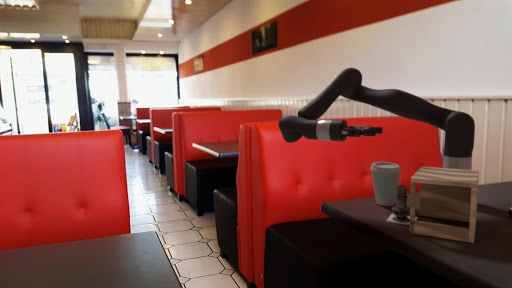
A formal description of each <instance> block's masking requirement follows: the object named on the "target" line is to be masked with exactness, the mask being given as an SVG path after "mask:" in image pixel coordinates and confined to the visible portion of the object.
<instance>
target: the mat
mask: <svg viewBox="0 0 512 288" xmlns="http://www.w3.org/2000/svg"><path fill="white" fill-rule="evenodd" d="M393 217H395V215H394V213H391V214H390V215H389V217H388V218H387V219H386V223H393V224H398V225H400V224H401V225H406V226H410V221H409V222H397V221H394V220H393V219H392V218H393ZM418 217H419V216H415V220H416V221H418ZM407 218H409V219H410V215H409V216H407Z"/></svg>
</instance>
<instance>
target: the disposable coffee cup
mask: <svg viewBox="0 0 512 288" xmlns="http://www.w3.org/2000/svg"><path fill="white" fill-rule="evenodd" d="M370 171H371V176H372V183H373V184H372V185H373V190H374V196H375V197H374V198H375V201H376V204H377V205H379V206H382V205H383V207H391V206H392V207H393V206H395V205H396V203H397V198H396V196H397V187H398V186H399V183H400V177H401V171H402V168H401V167H400V166H399V164H396V163H394V162H388V161H375V162H372V163H371V166H370Z"/></svg>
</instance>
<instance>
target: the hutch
mask: <svg viewBox="0 0 512 288" xmlns="http://www.w3.org/2000/svg"><path fill="white" fill-rule="evenodd" d="M479 173H480V171H479V170H474V169H472V170H463V169H448V168H443V167H432V166H421V167H419V168H418V169H417V171H416V172H414V174H413V175H412V176H411V177H410V197H409V208H410V214H409V216H410V225H409V230H408V231H409V232H408V233H410V234H414V235H422V236H430V237H434V238H442V239H447V240H454V241H461V242H465V243H466V242H467V243H472V244H474V243H475V236H476V230H477V229H476V227H477V226H476V225H477V214H478V212H477V211H478V196H479V194H478V193H479V176H480V175H479ZM417 183H419V186H420V187H419V216H422V217H429V218H434V219H435V218H437V219H444V220H445V219H446V220H451V221H452V220H453V221H457V222H458V221H459V222H464V223H465V222H466V223H469V227H464V226H457V225H450V224H443V223H437V222H429V221H422V220H421V221H420V220H415V217H416V196H417V195H416V193H417V192H416V191H417Z"/></svg>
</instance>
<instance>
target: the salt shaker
mask: <svg viewBox="0 0 512 288" xmlns="http://www.w3.org/2000/svg"><path fill="white" fill-rule="evenodd" d="M407 195H408V187H407V186H405V185H404V183H403V182H401V183H400V185H398V187H397V196H396V202H395V205H393V206H392V207H391V210H392V214H394V215H395V217H393V218H392V219H393V220H394V221H397V222H409V221H410V219H409V218H407V216H410V206H409V207H408V203H407V201H408V199H409V196H407Z"/></svg>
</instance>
